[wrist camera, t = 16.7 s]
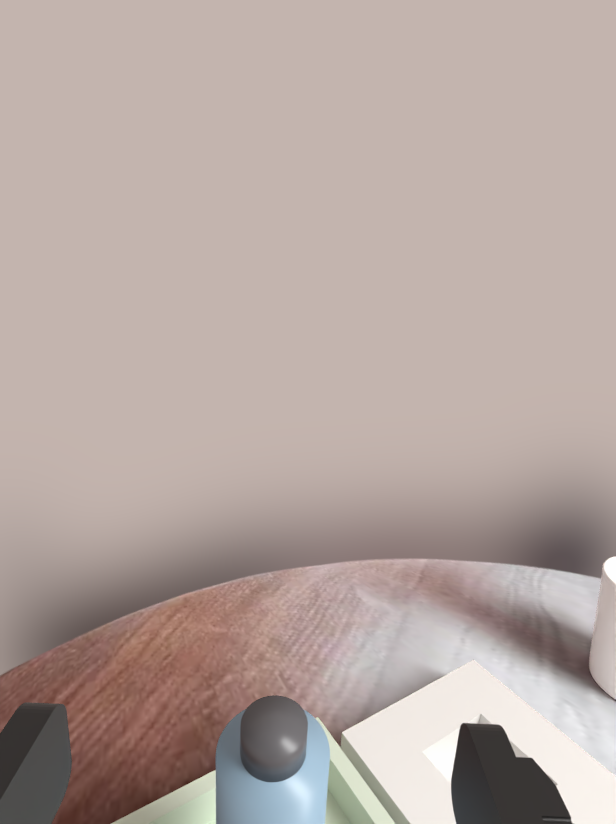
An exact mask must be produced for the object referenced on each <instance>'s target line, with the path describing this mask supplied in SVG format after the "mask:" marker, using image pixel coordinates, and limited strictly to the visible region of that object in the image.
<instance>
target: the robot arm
mask: <svg viewBox="0 0 616 824" xmlns="http://www.w3.org/2000/svg"><path fill="white" fill-rule="evenodd" d="M71 765H72V759H71V749H70V740H69V730H68V721H67V712H66V708H65V706H64V705H63V704H49V703H23V704H22V705H21V706H19V708H18V709H17V710H16V711H15V713H14V714H13V716H12V717H11V719H10V720H9V721H8V723H7V724H6V726H5V727H4V729H3V730H2V732H1V733H0V824H51V823H52V821H53V819H54V817H55V815H56V813H57V811H58V808H59V806H60V804H61V802H62V800H63V798H64V795H65V792H66V789H67V786H68V783H69V778H70V773H71ZM451 796H452V805H453V811H454V816H455V820H456V824H573V823H572V821H571V816H570V814H569V812H568V810H567V808H566V805H565V803H564V801H563V799H562V797H561V795H560V793H559V791H558V789H557V787H556V785H555V784H554V783H553V781H552V780H551V779H550V778H549V777H548V776H547V774H546V773H545V772H544V771H543V770H542V769H541V767H540V766H539V765H538V764H537V763H536V762H535V761H534V759H533V758H526V757H516V755H515V753H514V750H513V748H512V746H511V744H510V741H509V739H508V737H507V734H506V732H505V730H504V729H503V727H502V726H501V725H498V724H475V723H462V724H461V726H460V730H459V736H458V741H457V747H456V753H455V759H454V765H453V771H452V778H451Z"/></svg>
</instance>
